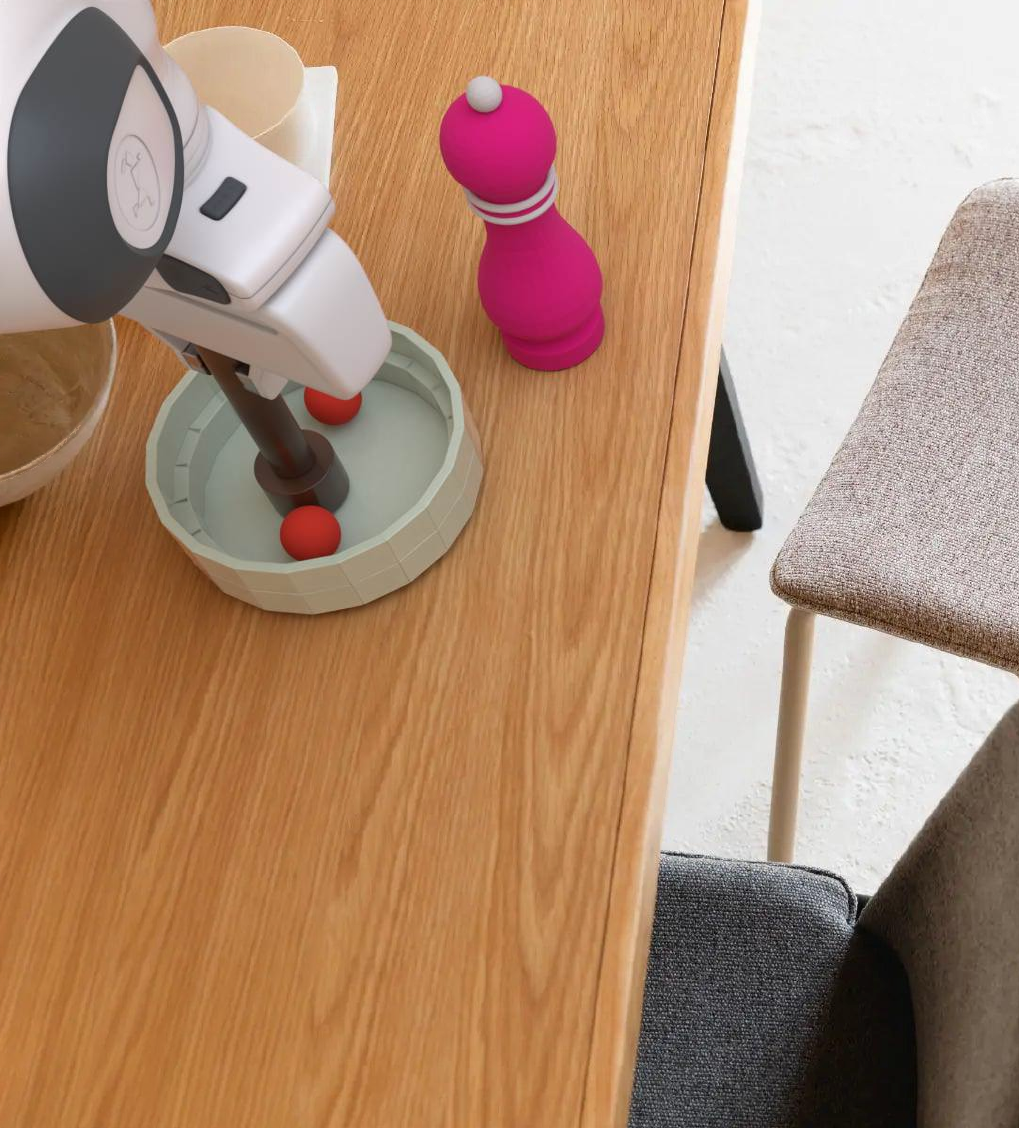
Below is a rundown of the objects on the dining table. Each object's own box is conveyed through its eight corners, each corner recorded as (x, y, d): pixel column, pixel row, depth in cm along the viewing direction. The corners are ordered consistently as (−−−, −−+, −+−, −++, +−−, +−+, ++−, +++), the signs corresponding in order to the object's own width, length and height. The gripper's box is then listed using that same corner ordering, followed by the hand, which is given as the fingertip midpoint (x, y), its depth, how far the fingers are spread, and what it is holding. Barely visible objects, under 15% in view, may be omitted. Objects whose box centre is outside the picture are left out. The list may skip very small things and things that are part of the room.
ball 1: (351, 442, 88) (331, 415, 85) (306, 424, 89) (284, 397, 86) (379, 398, 89) (360, 370, 86) (334, 380, 90) (314, 352, 87)
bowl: (381, 664, 82) (350, 618, 77) (124, 554, 85) (79, 504, 80) (539, 424, 89) (520, 368, 84) (297, 332, 93) (265, 274, 88)
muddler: (321, 534, 84) (212, 358, 71) (256, 507, 85) (136, 329, 71) (364, 473, 86) (267, 291, 73) (300, 448, 87) (192, 263, 73)
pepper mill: (490, 381, 91) (399, 136, 73) (500, 287, 94) (415, 32, 77) (610, 376, 91) (547, 130, 73) (615, 283, 94) (556, 27, 77)
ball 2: (328, 581, 83) (309, 553, 81) (279, 561, 84) (259, 532, 81) (359, 536, 85) (342, 506, 82) (312, 516, 85) (293, 486, 83)
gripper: (-120, 157, 65) (35, 355, 77) (274, 303, 61) (373, 488, 73) (-23, 63, 68) (112, 267, 80) (360, 195, 63) (442, 391, 75)
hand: (239, 374), depth 76 cm, fingers closed on muddler, 2 cm apart
